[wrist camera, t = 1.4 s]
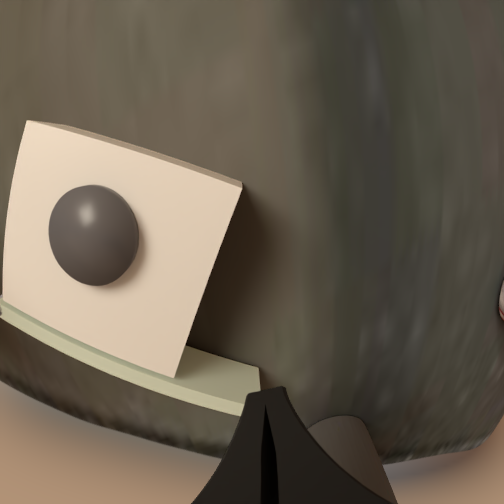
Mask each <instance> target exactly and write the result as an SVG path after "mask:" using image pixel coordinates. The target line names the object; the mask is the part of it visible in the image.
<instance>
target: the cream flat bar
mask: <svg viewBox="0 0 504 504" xmlns="http://www.w3.org/2000/svg"><path fill="white" fill-rule="evenodd" d="M0 318H2V319H4V320H5V321H7V322H8V323H10V324H12V325H13V326H15V327H17V328H18V329H20V330H22V331H24V332H25V333H27V334H29V335H31V336H32V337H34V338H36V339H38V340H40V341H42V342H43V343H45V344H47V345H49V346H51V347H53V348H55V349H57V350H59V351H61V352H63V353H65V354H67V355H69V356H71V357H73V358H75V359H77V360H79V361H82V362H84V363H86V364H88V365H90V366H93V367H95V368H97V369H99V370H102V371H104V372H106V373H109V374H111V375H114V376H116V377H119V378H121V379H124V380H126V381H129V382H131V383H134V384H136V385H139V386H142V387H145V388H147V389H150V390H153V391H156V392H159V393H161V394H164V395H167V396H170V397H174V398H177V399H180V400H183V401H186V402H189V403H193V404H196V405H200V406H203V407H207V408H210V409H214V410H218V411H221V412H225V413H229V414H233V415H237V416H241V414H242V411H243V407H244V404H245V400H246V396H247V394H248V393H252V392H257V391H260V380H259V369H258V367H254V366H250V365H247V364H243V363H240V362H236V361H233V360H230V359H226V358H223V357H220V356H216V355H213V354H210V353H207V352H204V351H201V350H198V349H195V348H192V347H189V346H186V345H185V347H184V350H183V353H182V355H181V358H180V361H179V364H178V367H177V370H176V373H175V376H174V378H171V377H168V376H165V375H163V374H160V373H157V372H154V371H151V370H149V369H146V368H143V367H140V366H138V365H135V364H133V363H130V362H128V361H125V360H123V359H120V358H118V357H115V356H113V355H110V354H108V353H106V352H103V351H101V350H99V349H96V348H94V347H92V346H90V345H87V344H85V343H83V342H81V341H79V340H77V339H74V338H72V337H70V336H68V335H66V334H64V333H62V332H60V331H58V330H56V329H54V328H52V327H50V326H48V325H46V324H44V323H42V322H41V321H39V320H37V319H35V318H33V317H31V316H29V315H28V314H26V313H24V312H22V311H21V310H19V309H17V308H15V307H14V306H12V305H10V304H9V303H7V302H5V301H4V300H3V294H2V295H1V296H0Z"/></svg>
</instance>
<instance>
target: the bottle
mask: <svg viewBox="0 0 504 504" xmlns="http://www.w3.org/2000/svg"><path fill="white" fill-rule="evenodd" d="M307 430H308V431H309V432H310V434H311V435H312V436H313V438H314V439H315V440H316V441H317V442H318V444H319V445H320V446H321V447H322V448H323V449H324V450H325V451H326V453H327V454H328V455H329V456H330V457H331V458H332V459H333V460H334V461H335V462H336V463H338V464H339V465H340V466H341V467H342V468H343V469H344V470H345V471H347V472H348V473H349V474H350V475H351V476H353V477H354V478H355V479H356V480H358V481H359V482H360V483H361V484H363V485H364V486H366V487H367V488H369V489H370V490H372V491H373V492H374V493H376V494H378V495H379V496H381V497H383V498H384V499H386V500H388V501H389V502H391V503H393V504H398V503H397V500H396V498H395V496H394V493H393V490H392V488H391V485H390V483H389V481H388V478H387V476H386V473H385V471H384V468H383V466H382V463H381V461H380V459H379V456H378V454H377V451H376V449H375V447H374V444H373V442H372V439H371V437H370V435H369V433H368V431H367V428H366V426H365V424H364V423H363V421H362V420H360V419H359V418H357V417H353V416H347V415H344V416H335V417H331V418H327V419H324V420H322V421H320V422H318V423H316V424H314V425H313V426H311V427H309V428H308V429H307Z"/></svg>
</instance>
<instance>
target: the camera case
mask: <svg viewBox="0 0 504 504" xmlns="http://www.w3.org/2000/svg"><path fill="white" fill-rule="evenodd" d="M241 191H242V182H241V181H238V180H235V179H232V178H230V177H227V176H224V175H222V174H219V173H216V172H213V171H210V170H208V169H205V168H202V167H199V166H196V165H193V164H191V163H188V162H185V161H182V160H179V159H176V158H173V157H170V156H167V155H164V154H161V153H158V152H155V151H152V150H149V149H146V148H142V147H139V146H136V145H133V144H130V143H126V142H123V141H120V140H117V139H113V138H110V137H107V136H103V135H100V134H96V133H93V132H89V131H86V130H82V129H79V128H75V127H71V126H68V125H62V124H54V123H47V122H38V121H30V120H27V123H26V126H25V130H24V133H23V137H22V141H21V145H20V149H19V153H18V157H17V162H16V166H15V171H14V176H13V181H12V187H11V193H10V199H9V206H8V213H7V221H6V231H5V242H4V257H3V300H4V301H5V302H7V303H9V304H10V305H12V306H14V307H15V308H17V309H19V310H21V311H22V312H24V313H26V314H28V315H29V316H31V317H33V318H35V319H37V320H39V321H41V322H42V323H44V324H46V325H48V326H50V327H52V328H54V329H56V330H58V331H60V332H62V333H64V334H66V335H68V336H70V337H72V338H74V339H77V340H79V341H81V342H83V343H85V344H87V345H90V346H92V347H94V348H96V349H99V350H101V351H103V352H106V353H108V354H110V355H113V356H115V357H118V358H120V359H123V360H125V361H128V362H130V363H133V364H135V365H138V366H140V367H143V368H146V369H149V370H151V371H154V372H157V373H160V374H163V375H165V376H168V377H171V378H174V376H175V373H176V370H177V367H178V364H179V361H180V358H181V355H182V353H183V350H184V347H185V344H186V341H187V338H188V335H189V332H190V329H191V326H192V324H193V321H194V318H195V315H196V312H197V309H198V307H199V304H200V301H201V298H202V295H203V293H204V290H205V287H206V284H207V281H208V279H209V276H210V273H211V270H212V268H213V265H214V262H215V260H216V257H217V254H218V251H219V249H220V246H221V243H222V241H223V238H224V235H225V233H226V230H227V227H228V225H229V222H230V219H231V217H232V214H233V212H234V209H235V206H236V204H237V201H238V199H239V196H240V193H241Z"/></svg>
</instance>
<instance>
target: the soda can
mask: <svg viewBox="0 0 504 504" xmlns="http://www.w3.org/2000/svg"><path fill="white" fill-rule="evenodd" d="M499 312H500V316H501V318H502V319H503V320H504V280H503V283H502V287H501V292H500V300H499Z"/></svg>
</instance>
